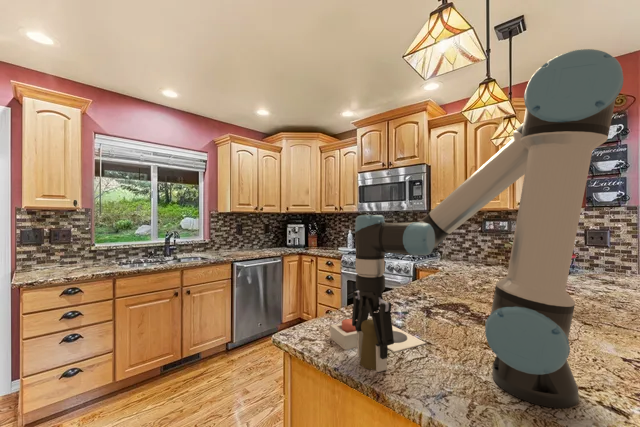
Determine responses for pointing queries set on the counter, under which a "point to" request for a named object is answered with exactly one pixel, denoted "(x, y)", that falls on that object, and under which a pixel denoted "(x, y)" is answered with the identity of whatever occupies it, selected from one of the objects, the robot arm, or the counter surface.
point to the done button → (348, 326)
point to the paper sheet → (403, 341)
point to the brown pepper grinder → (368, 345)
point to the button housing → (343, 337)
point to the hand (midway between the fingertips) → (371, 362)
